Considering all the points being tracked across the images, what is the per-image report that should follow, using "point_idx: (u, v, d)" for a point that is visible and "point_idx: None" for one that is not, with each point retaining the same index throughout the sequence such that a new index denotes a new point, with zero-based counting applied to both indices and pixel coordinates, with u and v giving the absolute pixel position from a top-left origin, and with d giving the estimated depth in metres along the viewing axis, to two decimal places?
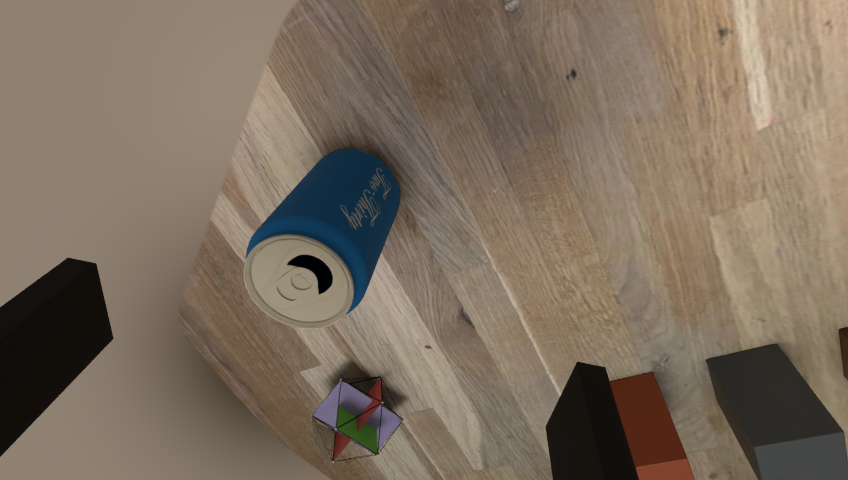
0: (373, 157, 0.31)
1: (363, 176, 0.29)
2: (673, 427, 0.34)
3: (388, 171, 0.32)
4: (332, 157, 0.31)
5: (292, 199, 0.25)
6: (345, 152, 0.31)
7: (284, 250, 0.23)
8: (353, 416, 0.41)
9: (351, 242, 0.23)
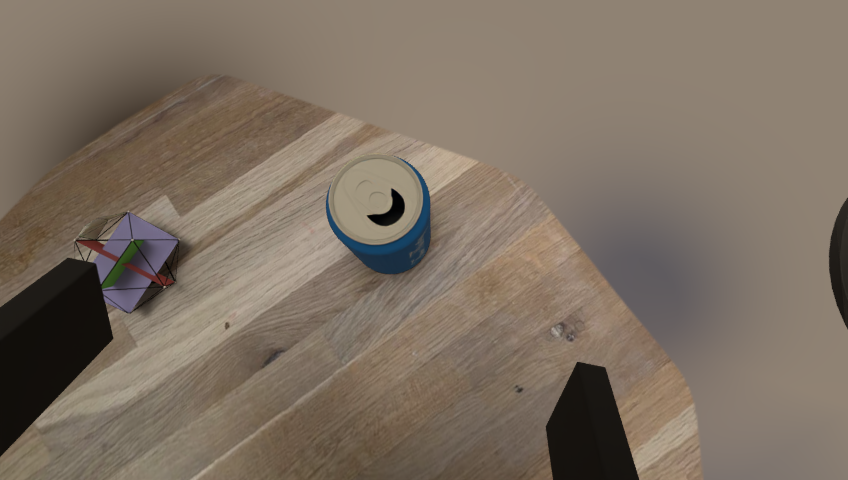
0: None
1: (427, 241, 0.35)
2: None
3: (419, 261, 0.38)
4: None
5: None
6: None
7: (405, 186, 0.28)
8: (131, 257, 0.36)
9: (415, 238, 0.29)
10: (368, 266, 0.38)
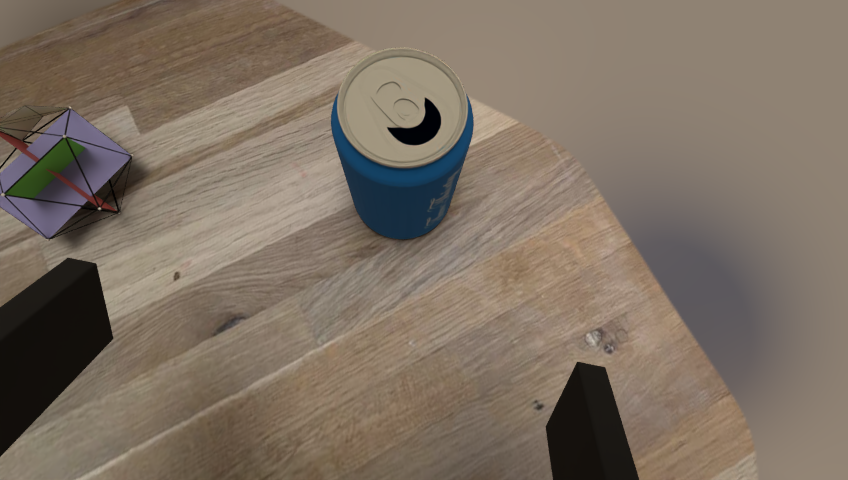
0: (446, 212, 0.31)
1: (450, 198, 0.28)
2: None
3: (433, 227, 0.30)
4: None
5: None
6: None
7: (445, 97, 0.21)
8: (64, 166, 0.28)
9: (448, 170, 0.21)
10: (369, 223, 0.29)
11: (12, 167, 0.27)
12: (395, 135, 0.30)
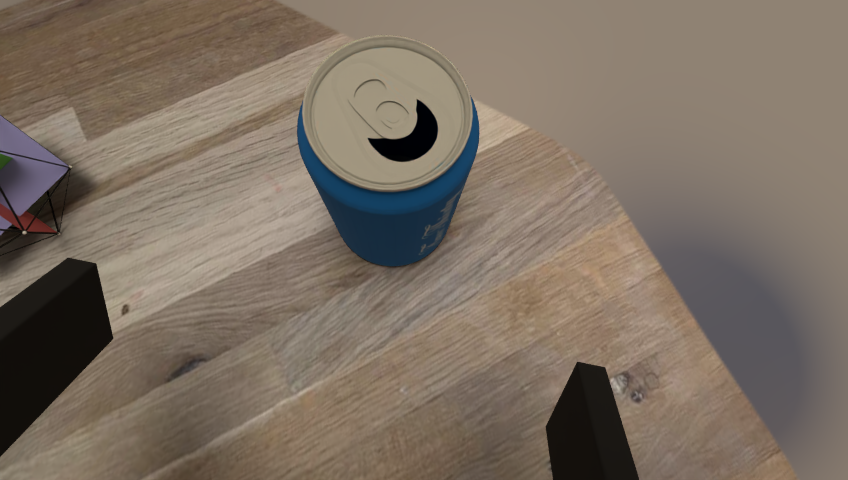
0: None
1: (450, 220, 0.23)
2: None
3: (429, 252, 0.26)
4: None
5: None
6: None
7: (443, 99, 0.16)
8: None
9: (446, 194, 0.16)
10: (353, 248, 0.25)
11: None
12: (385, 143, 0.26)
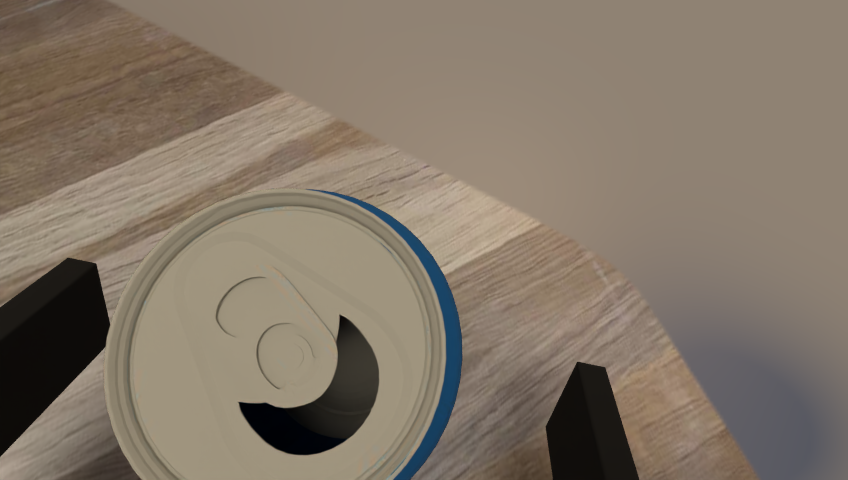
0: None
1: None
2: None
3: None
4: None
5: None
6: None
7: (390, 316, 0.08)
8: None
9: None
10: (286, 423, 0.17)
11: None
12: None
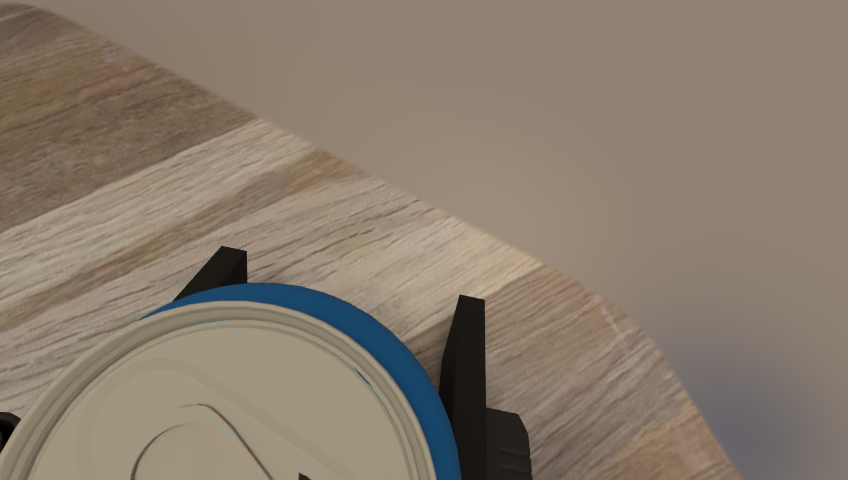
0: None
1: None
2: None
3: None
4: None
5: None
6: None
7: (366, 475, 0.06)
8: None
9: None
10: None
11: None
12: None
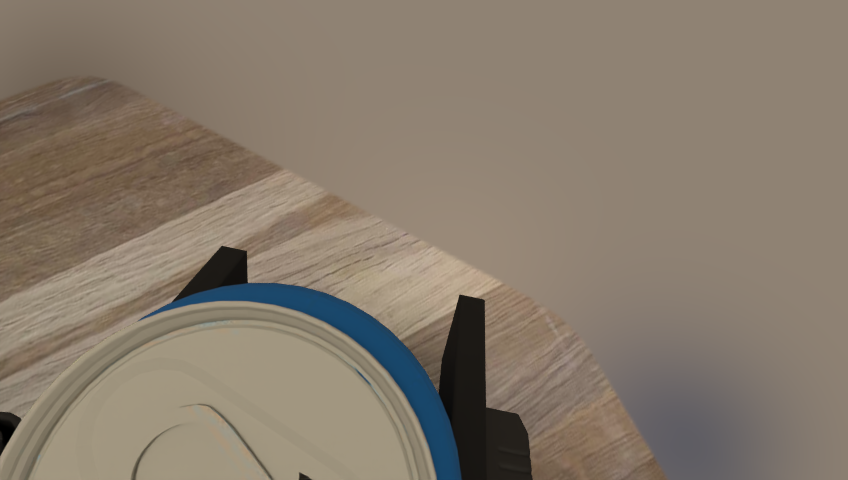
0: None
1: None
2: None
3: None
4: None
5: None
6: None
7: (366, 474, 0.06)
8: None
9: None
10: None
11: None
12: None
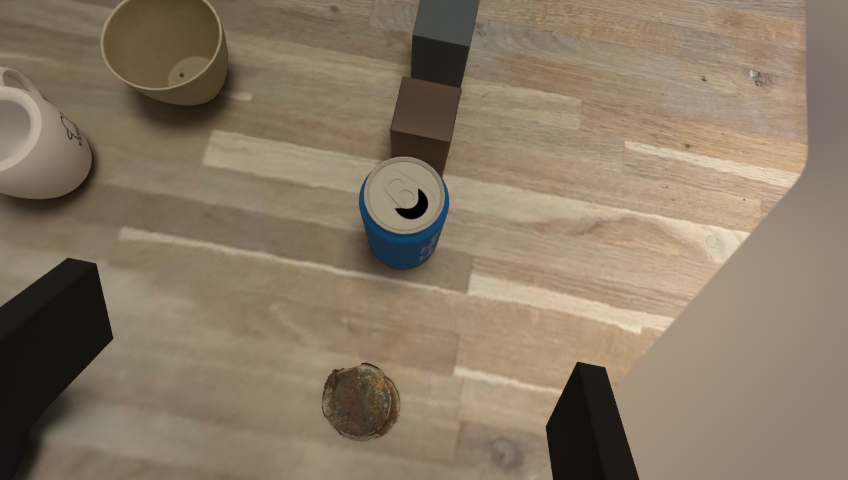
0: (434, 249, 0.43)
1: (436, 242, 0.40)
2: None
3: (425, 260, 0.43)
4: None
5: None
6: None
7: (430, 188, 0.33)
8: None
9: (432, 233, 0.34)
10: (380, 258, 0.42)
11: None
12: None
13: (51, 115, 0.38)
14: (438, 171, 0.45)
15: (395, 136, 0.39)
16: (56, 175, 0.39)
